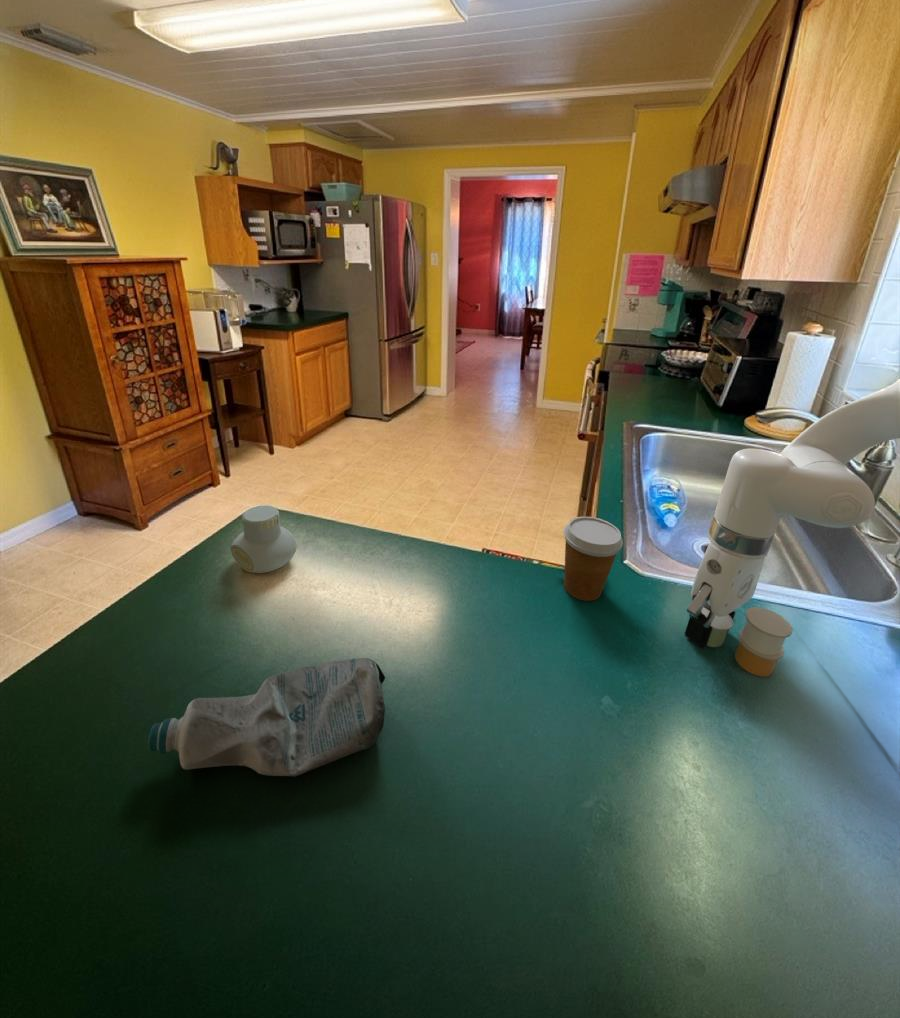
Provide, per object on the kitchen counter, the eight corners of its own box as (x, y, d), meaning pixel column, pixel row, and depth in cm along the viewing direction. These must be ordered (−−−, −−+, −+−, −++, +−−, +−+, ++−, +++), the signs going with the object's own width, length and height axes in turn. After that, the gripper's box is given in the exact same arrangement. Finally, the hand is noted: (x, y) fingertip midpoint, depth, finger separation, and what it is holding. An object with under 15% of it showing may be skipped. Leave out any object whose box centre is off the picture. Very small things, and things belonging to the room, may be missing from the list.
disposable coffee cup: (553, 600, 79) (564, 540, 74) (555, 567, 87) (565, 511, 83) (612, 613, 77) (627, 551, 72) (608, 577, 85) (621, 520, 81)
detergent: (381, 671, 63) (175, 698, 57) (383, 633, 60) (165, 657, 54) (392, 775, 52) (136, 822, 46) (395, 735, 49) (121, 780, 43)
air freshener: (227, 560, 84) (220, 511, 80) (268, 540, 90) (263, 494, 86) (262, 586, 78) (256, 535, 74) (304, 563, 84) (301, 515, 80)
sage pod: (717, 624, 76) (724, 605, 74) (732, 651, 71) (739, 631, 69) (681, 620, 76) (687, 600, 75) (693, 646, 71) (700, 626, 70)
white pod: (771, 630, 70) (779, 610, 68) (791, 660, 64) (801, 639, 63) (731, 625, 70) (739, 604, 69) (748, 654, 65) (757, 633, 64)
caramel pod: (763, 651, 71) (772, 631, 70) (783, 682, 66) (792, 661, 64) (725, 645, 72) (732, 625, 70) (741, 676, 66) (749, 655, 65)
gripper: (734, 567, 59) (698, 673, 66) (796, 532, 68) (759, 629, 75) (680, 537, 65) (651, 638, 72) (743, 508, 74) (713, 600, 81)
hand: (706, 632), depth 73 cm, fingers closed on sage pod, 5 cm apart
